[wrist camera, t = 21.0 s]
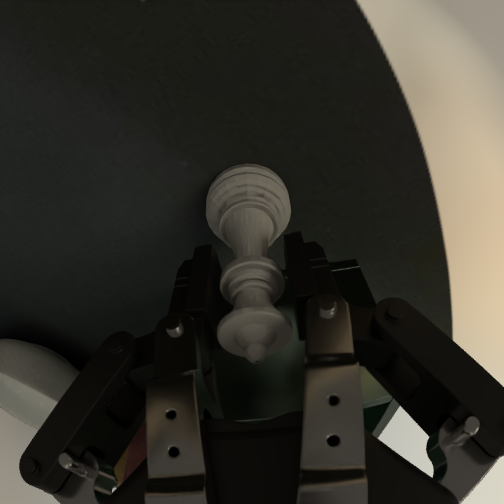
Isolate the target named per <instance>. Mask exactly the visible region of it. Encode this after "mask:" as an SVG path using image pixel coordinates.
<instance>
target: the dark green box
mask: <svg viewBox="0 0 504 504" xmlns="http://www.w3.org/2000/svg"><path fill="white" fill-rule="evenodd" d="M329 266H330V269H331V272H332V274H333V277H334V280H335V283H336V286H337V289H338V291H339V294H340V296H342V297H343V298H344V299H345V300H346V301H347V303H349V304H351V305H354V306H357V307H366V308H375V306H376V303H375V300H374V298H373V296H372V293H371V291H370V289H369V287H368V285H367V282H366V280H365V278H364V276H363V274H362V271H361V269H360V267H359V265H358V263H357V261H356V259H354V260H348V261H342V262H335V263H329ZM282 272H283V274H284V280H285V288H284V292H283V293H282V295H281V297H280V298H279V299H278V300H277V301H276V302H274V304H273V306H274V307H275V308H276V309H277V310H278V311H280V312H282V313H283V314H285V315H286V316H287V317H288V318H289V319H290V321H291V323H292V328H293V335H292V338H291V341H290V342H289V344H288V345H287V346H286V347H285V348H283V349H282V350H281V351H279V352H277V353H275V354H272V355H268V356H267V357H266V358H265V359H264V361H262V362H261V363H252V362H250V361H249V360H248V359H247V358H246V357H242V356H238V355H235V354H232V353H230V352H228V351H227V350H225V349H224V348H223V347H222V350H218V351H213V363H214V366H215V372H216V379H217V386H218V392H219V399H220V405H221V409H222V412H223V415H224V418H225V419H226V420H231V421H237V422H243V423H249V424H257V423H260V422H263V421H266V420H269V419H272V418H275V417H278V416H281V415H283V414H286V413H289V412H295V411H302V410H303V402H304V370H305V340H302V341H299V338H298V332H297V327H296V321H295V315H294V310H293V304H292V299H291V294H290V288H289V283H288V277H287V271H286V270H282ZM233 308H234V307H233V305H232V304H230V303H229V302H228V301H226V299H225V298H224V300H223V318H224V317H225V316H226V315H227V314H229V313H230V312H231V311H232V310H233ZM359 368H360V378H361V389H362V402H363V418H364V429H366V430H367V431H368V432H370V433H371V434H372V435H373V436H375V437H376V438H378V437H379V436H380V434H381V433H382V431H383V430H384V428H385V427H386V426H387V424H388V423H389V421H390V420H391V418H392V417H393V415H394V414H395V412H396V411H397V409H398V408H399V406H400V405H399V404H398V403H397V402H396V400H395V399H394V398H393V397H392V396H391V395H390V394H389V393H388V392H387V391H386V390H385V389H384V388H383V387H382V386H381V385H380V383H379V382H378V381H377V380H376V379H375V378H374V377H373V376H372V375H371V374H370V373H369V372H368V371H367V370H366V368H365V367H361V366H359Z"/></svg>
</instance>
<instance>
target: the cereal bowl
mask: <svg viewBox="0 0 504 504" xmlns="http://www.w3.org/2000/svg"><path fill="white" fill-rule="evenodd" d="M79 373H80V372H79V371H78V370H77V369H76V368H75V367H74V366H73V365H72V364H71V363H70V362H69V361H68V360H67V359H65V358H64V357H62V356H61V355H60V354H58V353H56V352H55V351H53V350H51V349H49V348H46V347H44V346H41V345H38V344H33V343H28V342H25V341H21V340H16V339H0V408H2V409H3V410H5V411H6V412H8V413H9V414H11V415H12V416H14V417H15V418H17V419H19V420H21V421H22V422H24V423H26V424H28V425H29V426H31V427H34V428H36V429H38V430H39V429H40V427H41V426H42V424H43V423H44V422H45V420H46V419H47V417H48V416H49V414H50V413H51V412H52V410H53V409H54V407H55V406H56V405H57V403H58V402H59V400H60V399H61V398H62V396H63V395H64V393H65V392H66V391H67V389H68V388H69V387H70V385H71V384H72V383H73V381H74V380H75V379H76V377H77V376H78V374H79Z"/></svg>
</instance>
